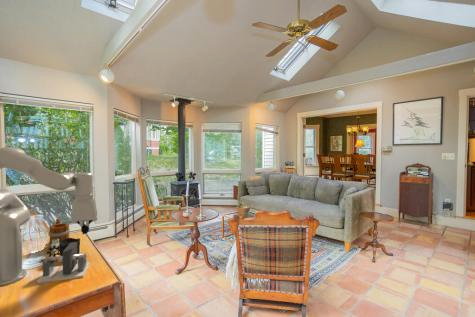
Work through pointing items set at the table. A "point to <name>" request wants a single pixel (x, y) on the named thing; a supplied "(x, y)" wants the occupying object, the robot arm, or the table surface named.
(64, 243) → the pen holder
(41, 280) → the base board
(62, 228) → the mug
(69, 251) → the collar
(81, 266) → the pipe
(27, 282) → the table surface
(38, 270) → the table surface
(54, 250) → the valve
